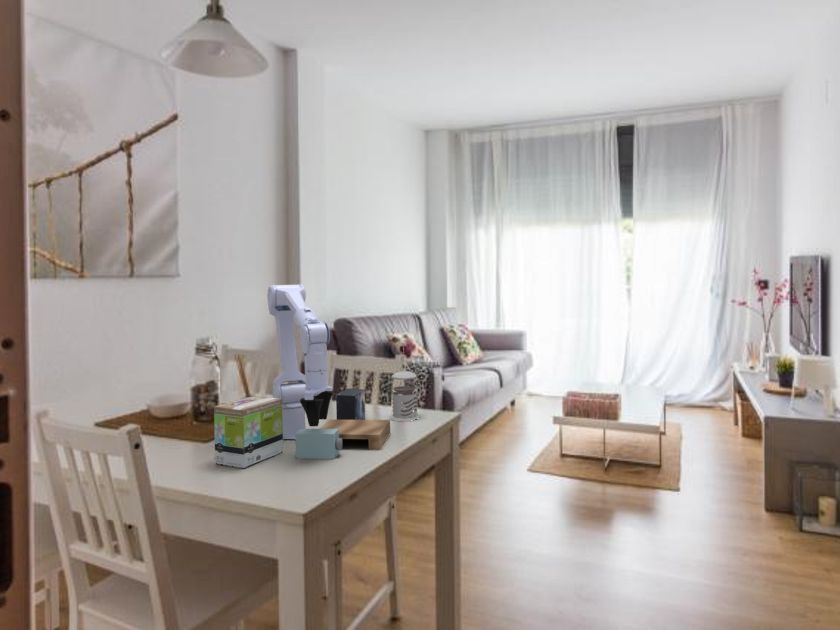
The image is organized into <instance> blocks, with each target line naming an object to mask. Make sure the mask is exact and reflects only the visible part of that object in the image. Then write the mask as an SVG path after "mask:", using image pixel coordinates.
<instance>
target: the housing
mask: <svg viewBox="0 0 840 630" xmlns="http://www.w3.org/2000/svg"><path fill="white" fill-rule="evenodd" d="M294 440H295V459H303V458H306V459H307V460H309V459H310V460H311V459H315V460H325V459H327V460H335V459H336V458H337V456H338V455H339V454H340V451H342V450H343V439H342V438H339V429H320V428H305V429H300V430H299V431H298V432H297V433H296V434H295V439H294Z"/></svg>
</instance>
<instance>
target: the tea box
mask: <svg viewBox="0 0 840 630" xmlns="http://www.w3.org/2000/svg"><path fill="white" fill-rule="evenodd" d="M213 408H214V409H213V412H214V413H213V414H214V415H213V420H214V421H213V423H214V434H213V435H214V464H216V463H217V464H216V465H221V464H223V465H222V466H226V465H227V467H232V466H233V468H238V469H239V468H241V469H245V468H247V467H249V466H252V465H254V464H256V463H259V462H262V461H265V460H266V459H269V458H271V457H274V456H277V455H280V454H282V453H283V452H284V439H283V416H282V399H279V398H273V397H267V396H258V395H257V396H256V395H253V396H249V397H246V398H241V399H238V400H234V401H230V402H226V403H223V404H222V403H221V404H218V405H215V406H214V407H213ZM281 452H282V453H281ZM279 453H280V454H279Z"/></svg>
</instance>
